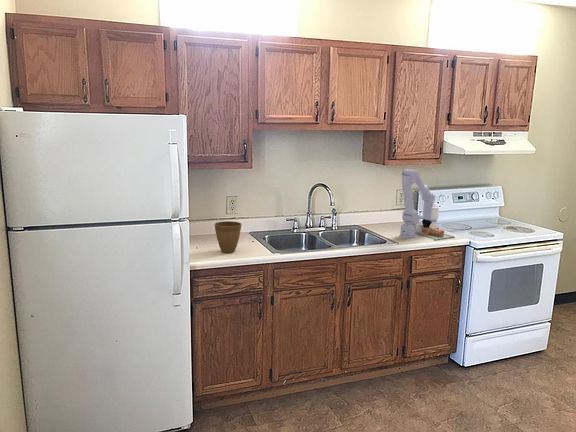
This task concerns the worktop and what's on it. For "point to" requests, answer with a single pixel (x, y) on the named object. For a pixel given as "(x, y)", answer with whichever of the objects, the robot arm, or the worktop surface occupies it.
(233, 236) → the plant pot
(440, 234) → the t block
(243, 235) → the worktop surface
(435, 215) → the jar
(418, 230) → the mat
